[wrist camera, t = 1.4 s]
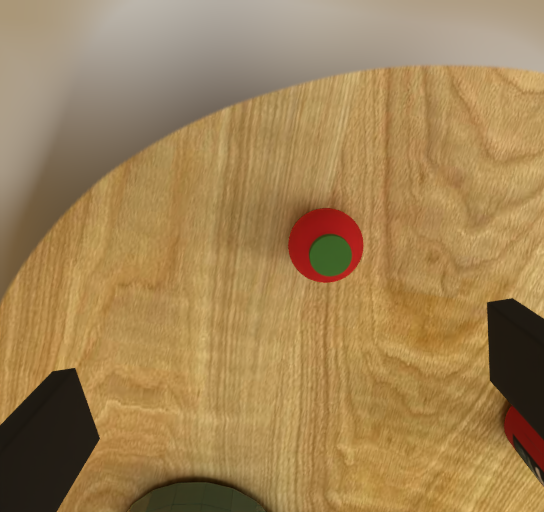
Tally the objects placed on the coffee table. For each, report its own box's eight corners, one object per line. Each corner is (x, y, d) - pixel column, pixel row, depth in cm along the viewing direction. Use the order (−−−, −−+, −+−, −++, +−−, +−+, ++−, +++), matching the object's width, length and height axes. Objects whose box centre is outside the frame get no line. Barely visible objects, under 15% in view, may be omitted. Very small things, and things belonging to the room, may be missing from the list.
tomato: (273, 245, 30) (273, 266, 25) (313, 189, 29) (322, 199, 24) (328, 281, 30) (338, 309, 25) (369, 228, 29) (388, 246, 24)
